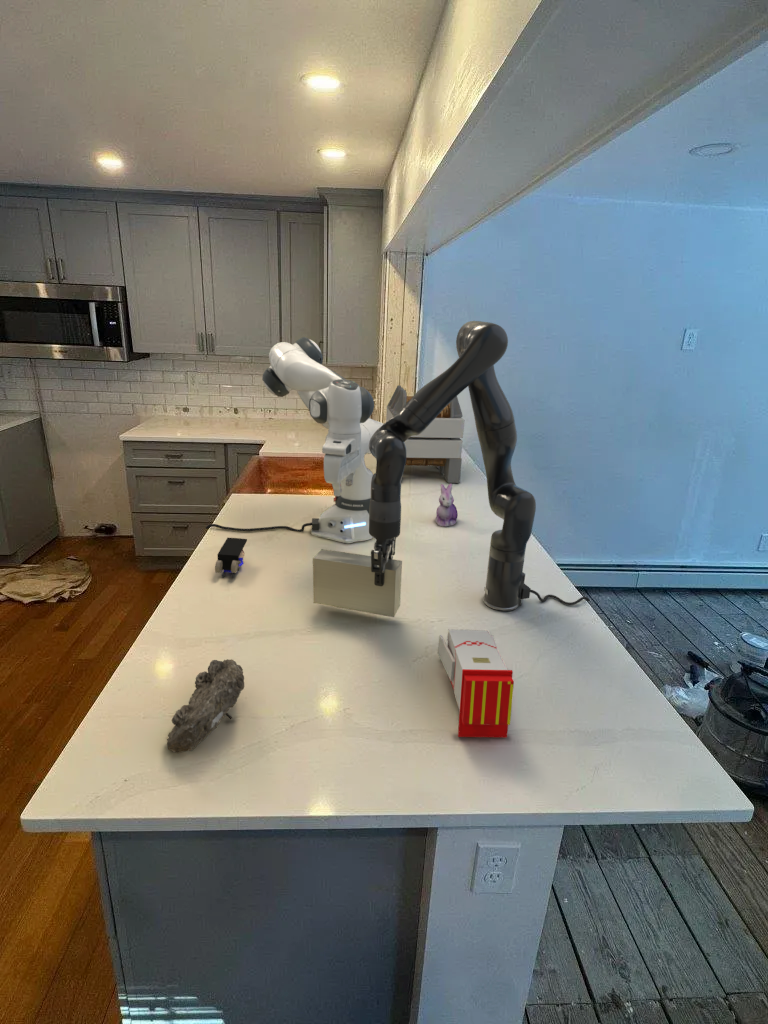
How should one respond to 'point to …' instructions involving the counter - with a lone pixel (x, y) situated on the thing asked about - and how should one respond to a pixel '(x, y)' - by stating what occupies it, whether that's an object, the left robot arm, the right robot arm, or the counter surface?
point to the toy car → (230, 556)
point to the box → (355, 583)
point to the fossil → (206, 705)
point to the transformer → (434, 438)
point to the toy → (478, 682)
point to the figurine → (446, 508)
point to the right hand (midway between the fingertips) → (382, 579)
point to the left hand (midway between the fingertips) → (343, 490)
